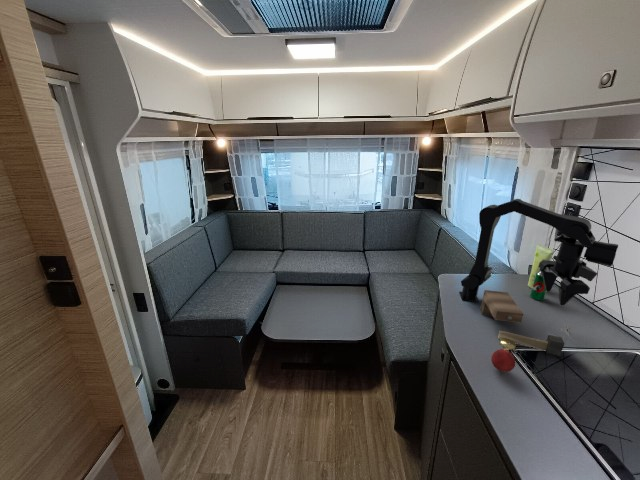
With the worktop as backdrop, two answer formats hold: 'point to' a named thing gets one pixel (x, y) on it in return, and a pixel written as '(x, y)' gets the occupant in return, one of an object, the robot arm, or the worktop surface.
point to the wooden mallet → (537, 342)
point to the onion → (503, 360)
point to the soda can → (538, 287)
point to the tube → (540, 255)
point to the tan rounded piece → (507, 344)
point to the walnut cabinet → (500, 306)
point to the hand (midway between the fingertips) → (554, 297)
